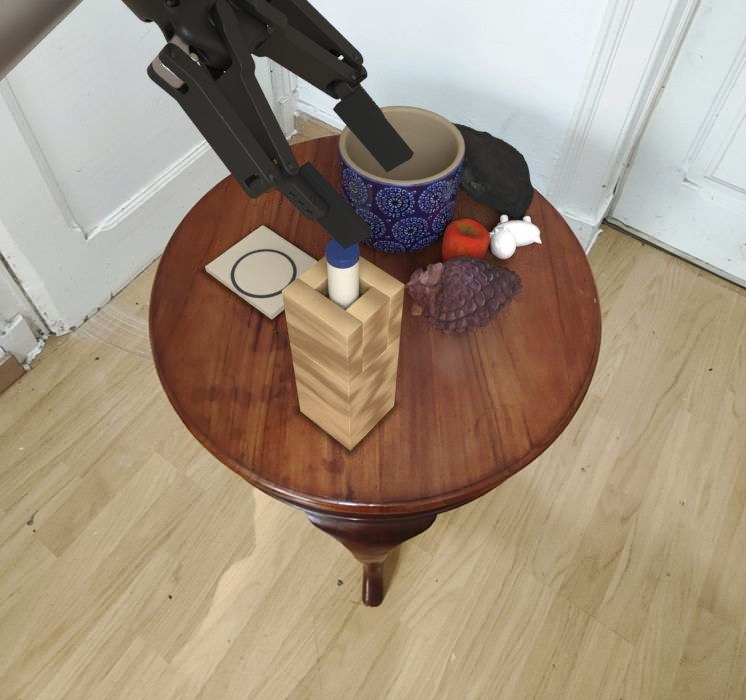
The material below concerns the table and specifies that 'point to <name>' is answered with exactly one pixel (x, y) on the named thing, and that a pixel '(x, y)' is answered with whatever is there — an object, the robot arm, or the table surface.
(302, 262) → the drawing board
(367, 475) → the table surface
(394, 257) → the table surface
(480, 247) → the apple
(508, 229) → the toy creature
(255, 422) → the table surface
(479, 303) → the pine cone
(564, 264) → the table surface
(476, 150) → the rock
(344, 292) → the marker
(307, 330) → the pen block
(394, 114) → the planter
